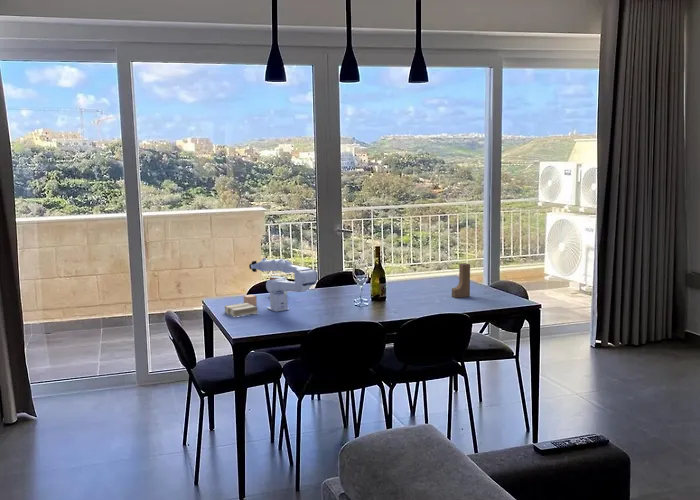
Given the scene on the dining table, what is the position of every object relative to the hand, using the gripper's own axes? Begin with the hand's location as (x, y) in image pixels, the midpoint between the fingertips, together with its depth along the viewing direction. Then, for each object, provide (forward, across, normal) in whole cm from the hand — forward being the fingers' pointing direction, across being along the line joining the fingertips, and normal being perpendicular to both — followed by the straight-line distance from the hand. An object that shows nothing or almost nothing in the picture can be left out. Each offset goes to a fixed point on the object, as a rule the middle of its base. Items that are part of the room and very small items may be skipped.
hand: (256, 266), depth 358 cm
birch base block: (-13, +17, +23) cm, 32 cm away
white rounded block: (+10, -19, +17) cm, 27 cm away
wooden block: (-58, -92, +24) cm, 112 cm away
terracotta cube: (0, +5, +20) cm, 21 cm away
